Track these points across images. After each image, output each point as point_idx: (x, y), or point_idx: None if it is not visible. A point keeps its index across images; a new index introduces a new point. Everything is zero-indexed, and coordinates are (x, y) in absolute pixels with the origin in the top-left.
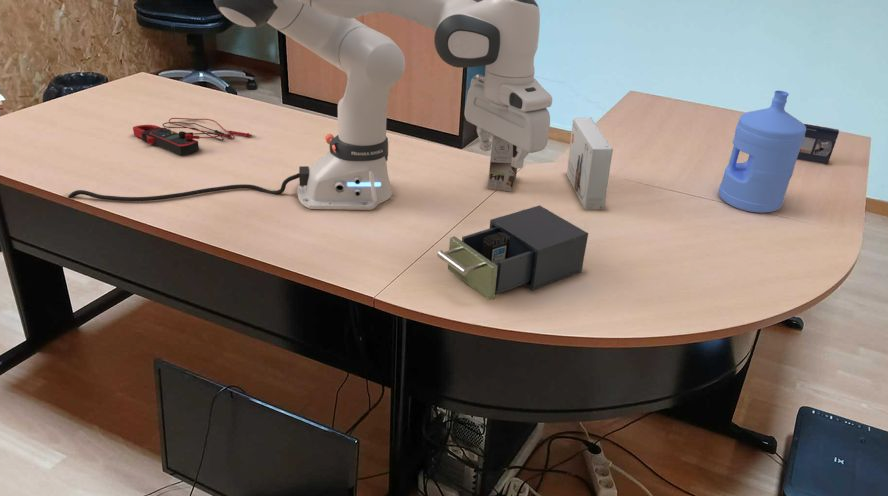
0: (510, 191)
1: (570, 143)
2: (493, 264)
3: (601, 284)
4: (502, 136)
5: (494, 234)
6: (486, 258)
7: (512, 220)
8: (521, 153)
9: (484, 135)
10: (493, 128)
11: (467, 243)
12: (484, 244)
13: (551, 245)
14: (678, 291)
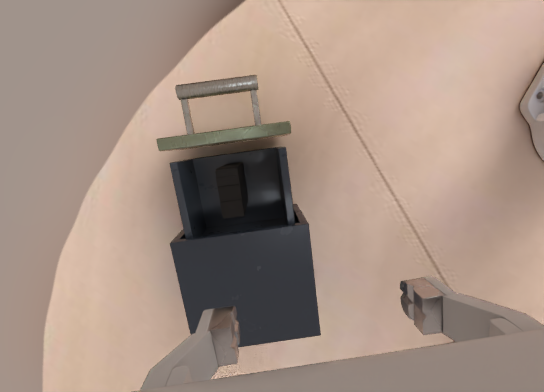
0: (454, 340)
1: None
2: (166, 145)
3: (174, 310)
4: (286, 380)
5: (239, 193)
6: (191, 145)
7: (288, 260)
8: (150, 372)
9: (472, 329)
10: (401, 387)
11: (278, 156)
12: (233, 166)
13: (178, 274)
14: (126, 384)
